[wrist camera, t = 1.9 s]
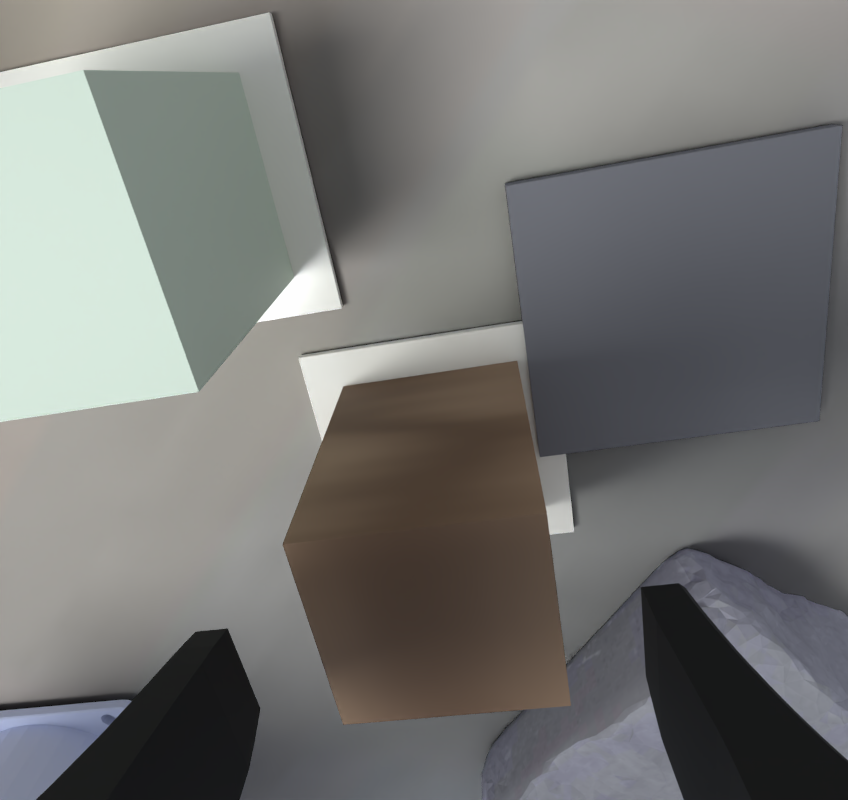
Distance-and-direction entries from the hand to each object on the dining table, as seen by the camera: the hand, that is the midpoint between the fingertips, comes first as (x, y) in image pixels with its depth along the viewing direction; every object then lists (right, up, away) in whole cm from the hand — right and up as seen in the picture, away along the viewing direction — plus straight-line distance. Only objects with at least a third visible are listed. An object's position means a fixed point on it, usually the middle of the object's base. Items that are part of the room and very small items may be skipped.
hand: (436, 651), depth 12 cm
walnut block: (0, +3, +6) cm, 7 cm away
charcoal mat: (+6, +7, +5) cm, 10 cm away
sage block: (-6, +9, +4) cm, 11 cm away
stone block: (+9, -6, +11) cm, 15 cm away
